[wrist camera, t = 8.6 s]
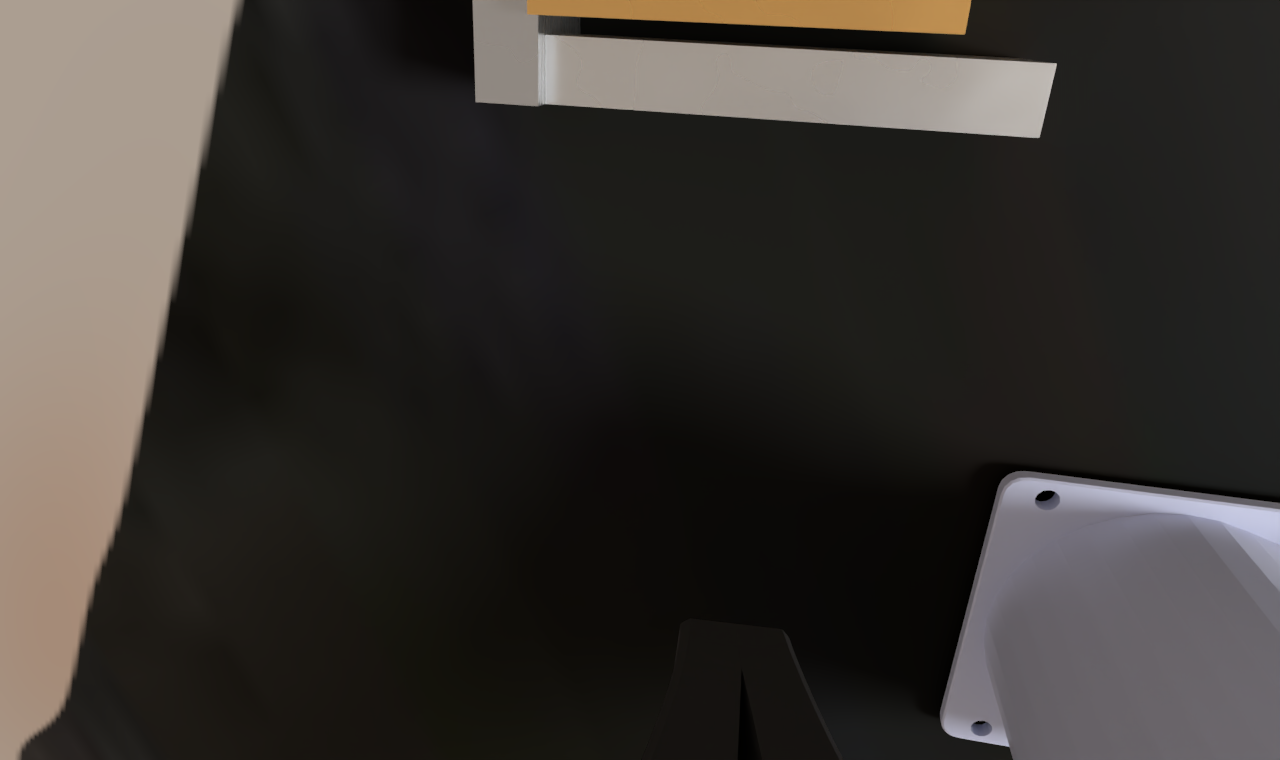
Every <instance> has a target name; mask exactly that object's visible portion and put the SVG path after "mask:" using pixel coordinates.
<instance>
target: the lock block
mask: <svg viewBox="0 0 1280 760" xmlns="http://www.w3.org/2000/svg"><path fill="white" fill-rule="evenodd" d="M970 5H971V0H527V14H530V15H549V16H569V17H589V18H611V19H632V20H654V21H676V22H697V23H719V24H741V25H762V26H784V27H806V28H828V29H849V30H871V31H893V32H914V33H937V34H965V31H966V26H967V21H968V15H969V10H970Z"/></svg>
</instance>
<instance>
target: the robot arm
mask: <svg viewBox="0 0 1280 760" xmlns="http://www.w3.org/2000/svg"><path fill="white" fill-rule="evenodd" d="M1047 490H1051V491H1054V492H1055V494H1054V496H1053V497H1052V498H1051V499H1049V500H1047V501H1038V500H1035V498H1036V496H1037V495H1038V494H1039V493H1041V492H1042V491H1047ZM940 720H941V725H942V727H943V729H944V731H945V732H946V733H948V734H949V735H951V736H954V737H957V738H962V739H968V740H974V741H979V742H985V743H991V744H997V745H1002V746H1008V747H1010V750H1011V754H1012V757H1013V760H1280V503H1275V502H1268V501H1260V500H1252V499H1244V498H1236V497H1228V496H1220V495H1212V494H1204V493H1196V492H1188V491H1180V490H1173V489H1165V488H1157V487H1149V486H1141V485H1133V484H1125V483H1117V482H1109V481H1101V480H1093V479H1086V478H1078V477H1070V476H1062V475H1054V474H1046V473H1038V472H1030V471H1016V472H1013V473H1011V474H1008V475H1007V476H1006V477H1005V478H1003V479H1002V481H1001V482H1000V484H999V486H998V490H997V494H996V497H995V501H994V505H993V509H992V513H991V517H990V521H989V524H988V528H987V532H986V536H985V540H984V544H983V548H982V551H981V555H980V559H979V563H978V567H977V571H976V575H975V578H974V582H973V586H972V590H971V594H970V598H969V602H968V605H967V609H966V613H965V617H964V621H963V625H962V629H961V632H960V636H959V640H958V644H957V648H956V652H955V656H954V659H953V663H952V667H951V671H950V675H949V679H948V683H947V686H946V690H945V694H944V698H943V702H942V706H941V710H940ZM977 721H985V722H986V723H984V724H974V723H975V722H977ZM641 760H843V758H842V756H841V754H840V752H839V750H838V748H837V746H836V744H835V742H834V740H833V738H832V736H831V734H830V732H829V730H828V728H827V726H826V724H825V722H824V720H823V718H822V715H821V713H820V711H819V709H818V707H817V705H816V702H815V700H814V698H813V696H812V694H811V691H810V689H809V687H808V684H807V682H806V680H805V678H804V675H803V673H802V670H801V668H800V665H799V663H798V660H797V658H796V655H795V653H794V650H793V648H792V645H791V642H790V639H789V637H788V636H787V634H786V633H785V632H784V631H783V630H782V629H777V628H768V627H760V626H751V625H743V624H735V623H726V622H718V621H709V620H701V619H692V618H689V619H688V620H686V621H684V622H682V623H681V624H680V629H679V636H678V642H677V649H676V656H675V663H674V669H673V673H672V676H671V680H670V683H669V686H668V689H667V693H666V696H665V699H664V702H663V705H662V708H661V710H660V713H659V715H658V718H657V721H656V723H655V726H654V729H653V731H652V734H651V737H650V739H649V742H648V745H647V747H646V750H645V752H644V754H643V757H642V759H641Z"/></svg>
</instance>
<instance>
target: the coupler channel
mask: <svg viewBox="0 0 1280 760" xmlns="http://www.w3.org/2000/svg"><path fill="white" fill-rule="evenodd" d="M580 22H581V17H569V16H549V15H530V14H527V0H473V30H474V62H475V95H476V102H484V103H499V104H513V105H527V106H541V105H544V104H554V105H568V106H583V107H597V108H612V109H626V110H641V111H655V112H670V113H684V114H699V115H713V116H727V117H742V118H756V119H771V120H785V121H800V122H814V123H829V124H843V125H858V126H872V127H887V128H901V129H916V130H930V131H944V132H959V133H973V134H988V135H1002V136H1017V137H1031V138H1039V137H1040V133H1041V129H1042V125H1043V120H1044V116H1045V112H1046V108H1047V103H1048V99H1049V95H1050V91H1051V86H1052V82H1053V78H1054V74H1055V70H1056V65H1057V63H1050V62H1043V61H1036V60H1029V59H1022V58H1005V57H987V56H969V55H951V54H933V53H915V52H897V51H879V50H861V49H843V48H825V47H807V46H789V45H771V44H753V43H735V42H717V41H699V40H681V39H663V38H645V37H627V36H609V35H591V34H580Z"/></svg>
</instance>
